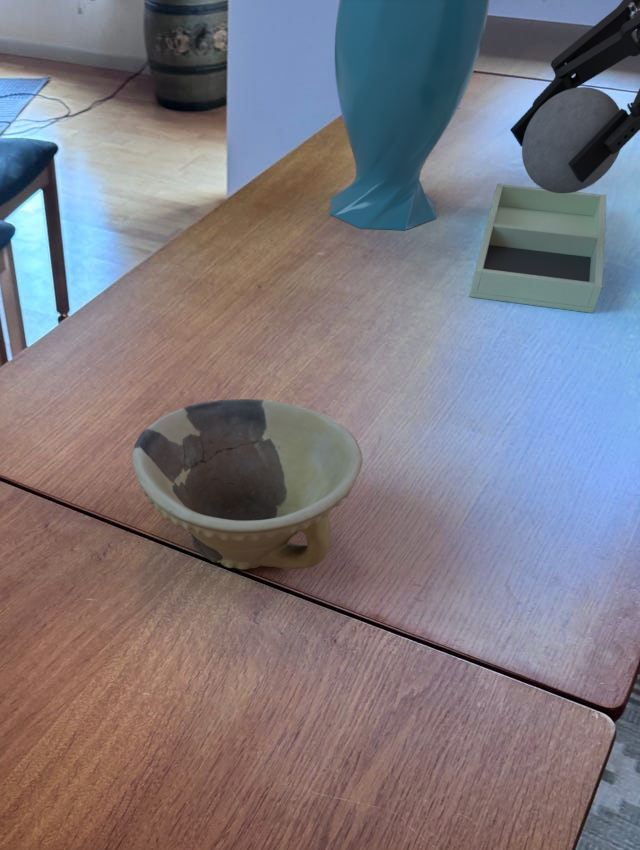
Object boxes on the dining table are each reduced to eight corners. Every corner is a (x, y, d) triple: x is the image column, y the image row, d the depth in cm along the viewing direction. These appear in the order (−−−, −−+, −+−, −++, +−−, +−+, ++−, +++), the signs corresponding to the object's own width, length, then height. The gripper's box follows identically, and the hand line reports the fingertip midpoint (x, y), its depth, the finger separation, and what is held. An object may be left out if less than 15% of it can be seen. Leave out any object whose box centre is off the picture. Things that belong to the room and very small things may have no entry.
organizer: (598, 219, 118) (606, 194, 116) (593, 313, 102) (602, 286, 99) (491, 207, 122) (497, 183, 119) (468, 296, 105) (475, 270, 103)
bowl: (390, 540, 76) (411, 445, 69) (247, 653, 68) (254, 558, 61) (235, 454, 85) (240, 362, 78) (91, 545, 77) (82, 451, 70)
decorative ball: (494, 180, 103) (517, 81, 96) (568, 167, 105) (597, 69, 98) (546, 214, 97) (575, 110, 90) (624, 199, 99) (660, 97, 92)
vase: (314, 231, 118) (342, -55, 96) (321, 180, 129) (348, -86, 108) (450, 238, 116) (511, -54, 94) (445, 185, 127) (499, -86, 105)
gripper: (828, 19, 84) (624, 217, 93) (665, -32, 99) (502, 143, 107) (811, -46, 79) (597, 170, 88) (642, -89, 94) (473, 99, 103)
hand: (545, 155), depth 98 cm, fingers closed on decorative ball, 10 cm apart
